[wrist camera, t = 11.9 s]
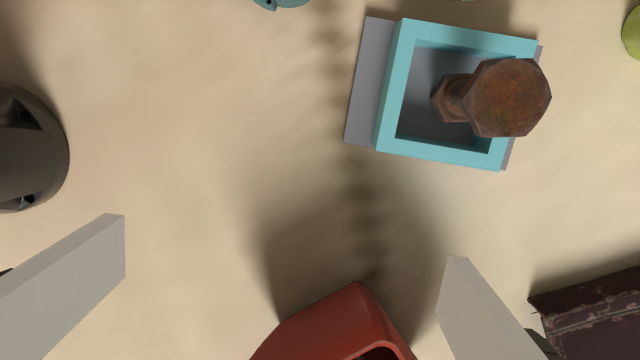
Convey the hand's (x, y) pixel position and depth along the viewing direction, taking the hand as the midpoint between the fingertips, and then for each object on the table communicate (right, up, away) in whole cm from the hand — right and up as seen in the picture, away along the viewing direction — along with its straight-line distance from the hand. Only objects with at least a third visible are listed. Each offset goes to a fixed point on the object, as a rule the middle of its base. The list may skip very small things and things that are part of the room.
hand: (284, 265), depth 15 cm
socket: (+14, +13, +25) cm, 31 cm away
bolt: (+14, +12, +24) cm, 30 cm away
